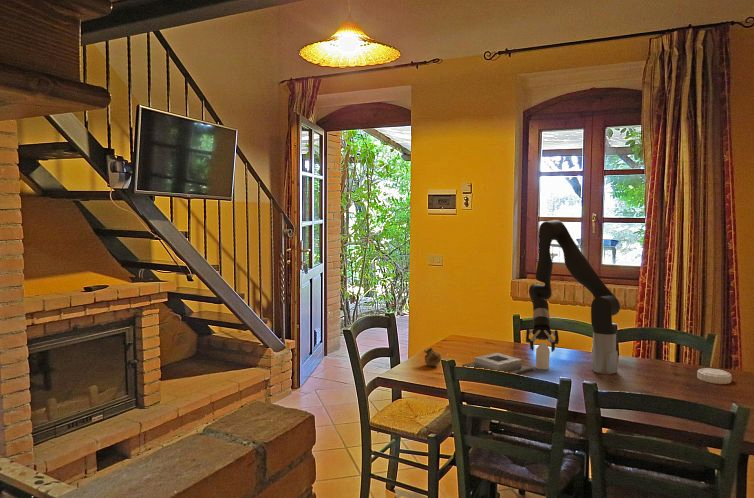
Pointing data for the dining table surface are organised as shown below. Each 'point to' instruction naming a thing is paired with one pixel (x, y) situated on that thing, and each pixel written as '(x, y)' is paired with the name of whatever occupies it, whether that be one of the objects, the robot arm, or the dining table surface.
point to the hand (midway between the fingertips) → (542, 350)
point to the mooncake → (714, 375)
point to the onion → (432, 357)
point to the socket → (499, 363)
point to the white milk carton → (542, 356)
